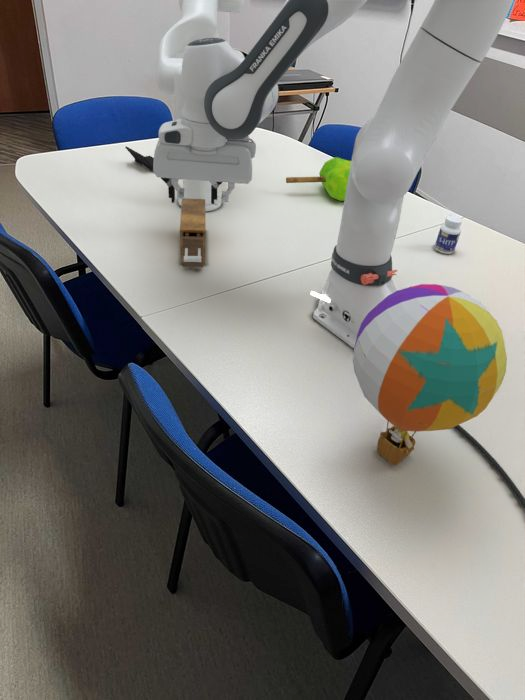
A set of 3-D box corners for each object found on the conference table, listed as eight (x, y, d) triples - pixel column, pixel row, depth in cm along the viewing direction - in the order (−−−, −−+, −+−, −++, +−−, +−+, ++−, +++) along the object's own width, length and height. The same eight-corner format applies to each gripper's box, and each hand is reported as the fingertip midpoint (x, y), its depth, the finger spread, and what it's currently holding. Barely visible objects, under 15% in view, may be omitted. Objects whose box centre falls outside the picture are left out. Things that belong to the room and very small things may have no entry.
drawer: (203, 279, 118) (203, 250, 113) (182, 278, 117) (181, 249, 113) (202, 235, 135) (202, 208, 130) (184, 234, 134) (184, 207, 130)
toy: (305, 446, 82) (335, 284, 64) (382, 395, 93) (428, 243, 74) (404, 533, 71) (476, 369, 53) (479, 464, 82) (561, 307, 63)
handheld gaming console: (172, 161, 172) (154, 139, 164) (161, 179, 171) (142, 158, 163) (149, 157, 179) (131, 136, 170) (138, 174, 177) (119, 153, 169)
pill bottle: (433, 251, 139) (442, 220, 133) (435, 243, 143) (444, 213, 137) (453, 256, 138) (464, 225, 132) (454, 247, 142) (465, 217, 136)
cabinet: (205, 264, 125) (205, 230, 119) (180, 264, 124) (179, 229, 118) (205, 231, 138) (205, 199, 133) (182, 231, 138) (181, 198, 132)
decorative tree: (281, 153, 162) (372, 152, 168) (279, 186, 169) (366, 184, 174) (295, 173, 149) (392, 171, 154) (292, 208, 155) (386, 205, 161)
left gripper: (230, 125, 121) (227, 197, 132) (154, 121, 119) (158, 194, 129) (231, 134, 115) (228, 208, 126) (152, 130, 113) (156, 206, 124)
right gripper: (256, 131, 106) (251, 197, 114) (154, 123, 104) (157, 190, 112) (257, 141, 101) (251, 209, 109) (150, 133, 99) (153, 202, 107)
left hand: (193, 201), depth 128 cm, fingers open, 9 cm apart
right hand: (202, 199), depth 111 cm, fingers open, 8 cm apart
